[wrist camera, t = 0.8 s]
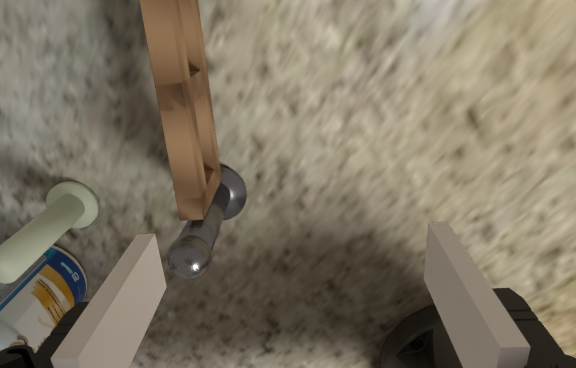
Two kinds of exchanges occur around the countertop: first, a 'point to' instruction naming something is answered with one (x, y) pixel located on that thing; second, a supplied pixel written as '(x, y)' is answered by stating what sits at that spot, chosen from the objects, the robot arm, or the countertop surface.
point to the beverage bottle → (40, 298)
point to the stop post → (47, 227)
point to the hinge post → (206, 228)
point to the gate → (184, 101)
